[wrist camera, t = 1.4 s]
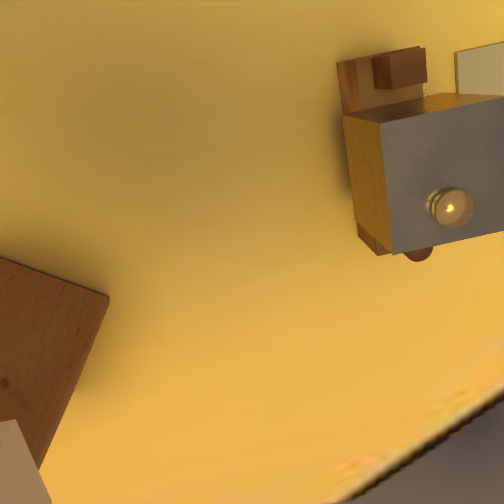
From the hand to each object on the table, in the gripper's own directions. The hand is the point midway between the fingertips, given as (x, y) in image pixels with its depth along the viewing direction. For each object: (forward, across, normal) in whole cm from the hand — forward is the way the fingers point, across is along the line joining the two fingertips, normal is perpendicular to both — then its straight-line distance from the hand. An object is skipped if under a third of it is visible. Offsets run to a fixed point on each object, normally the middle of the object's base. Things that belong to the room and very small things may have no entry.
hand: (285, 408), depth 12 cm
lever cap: (+20, +11, +1) cm, 23 cm away
